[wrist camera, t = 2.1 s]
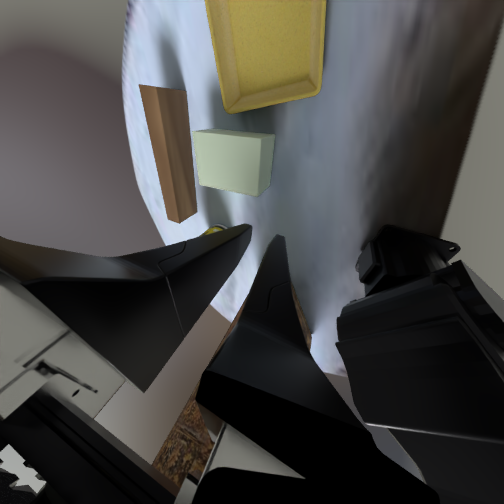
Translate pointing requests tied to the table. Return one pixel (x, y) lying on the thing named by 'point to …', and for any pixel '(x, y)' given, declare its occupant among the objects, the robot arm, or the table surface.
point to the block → (234, 160)
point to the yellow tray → (267, 50)
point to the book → (198, 427)
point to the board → (171, 148)
